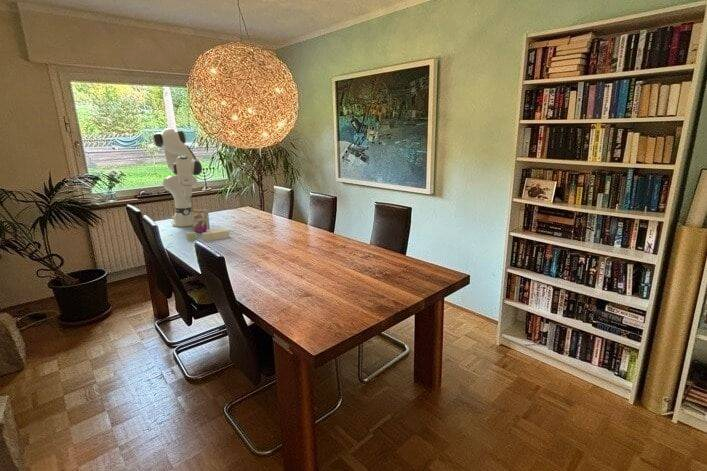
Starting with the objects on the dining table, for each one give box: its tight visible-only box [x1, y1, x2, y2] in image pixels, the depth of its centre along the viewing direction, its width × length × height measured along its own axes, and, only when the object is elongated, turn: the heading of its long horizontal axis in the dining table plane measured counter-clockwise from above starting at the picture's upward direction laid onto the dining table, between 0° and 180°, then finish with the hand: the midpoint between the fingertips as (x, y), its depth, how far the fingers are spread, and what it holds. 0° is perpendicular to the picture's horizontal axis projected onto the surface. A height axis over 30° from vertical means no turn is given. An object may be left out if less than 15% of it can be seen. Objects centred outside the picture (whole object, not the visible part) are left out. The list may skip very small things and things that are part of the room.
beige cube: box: [201, 232, 213, 242], centre depth 245 cm, size 5×5×5 cm
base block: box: [206, 226, 231, 241], centre depth 254 cm, size 12×12×5 cm
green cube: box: [185, 230, 198, 242], centre depth 245 cm, size 5×5×5 cm
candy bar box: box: [191, 208, 211, 233], centre depth 263 cm, size 11×5×16 cm, turn 84°
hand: (188, 201), depth 241 cm, fingers open, 8 cm apart
